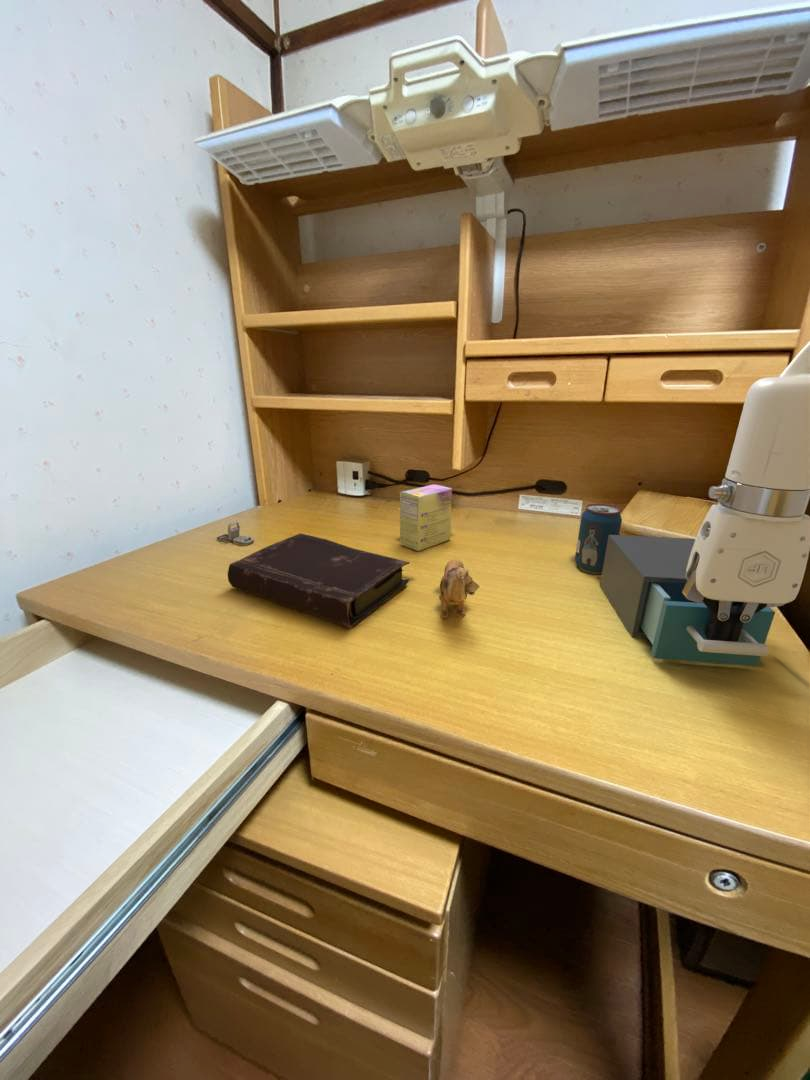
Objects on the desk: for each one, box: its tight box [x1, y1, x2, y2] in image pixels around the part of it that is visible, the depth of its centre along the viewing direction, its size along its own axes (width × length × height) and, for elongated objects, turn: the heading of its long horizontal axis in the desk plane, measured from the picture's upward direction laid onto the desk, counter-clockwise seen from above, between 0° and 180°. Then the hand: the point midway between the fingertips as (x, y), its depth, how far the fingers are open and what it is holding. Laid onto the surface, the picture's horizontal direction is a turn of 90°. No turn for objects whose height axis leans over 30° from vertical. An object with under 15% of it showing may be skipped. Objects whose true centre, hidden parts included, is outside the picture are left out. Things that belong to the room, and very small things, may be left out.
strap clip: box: [216, 521, 255, 546], centre depth 99 cm, size 8×3×4 cm, turn 65°
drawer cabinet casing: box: [599, 534, 696, 639], centre depth 71 cm, size 17×14×10 cm
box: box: [399, 483, 453, 552], centre depth 98 cm, size 10×6×12 cm, turn 134°
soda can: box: [574, 503, 623, 575], centre depth 86 cm, size 7×7×12 cm
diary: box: [226, 533, 410, 629], centre depth 79 cm, size 19×25×5 cm
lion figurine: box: [438, 558, 480, 619], centre depth 72 cm, size 15×5×9 cm, turn 3°
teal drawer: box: [640, 582, 776, 667], centre depth 62 cm, size 20×12×8 cm, turn 173°
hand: (718, 644), depth 56 cm, fingers closed
